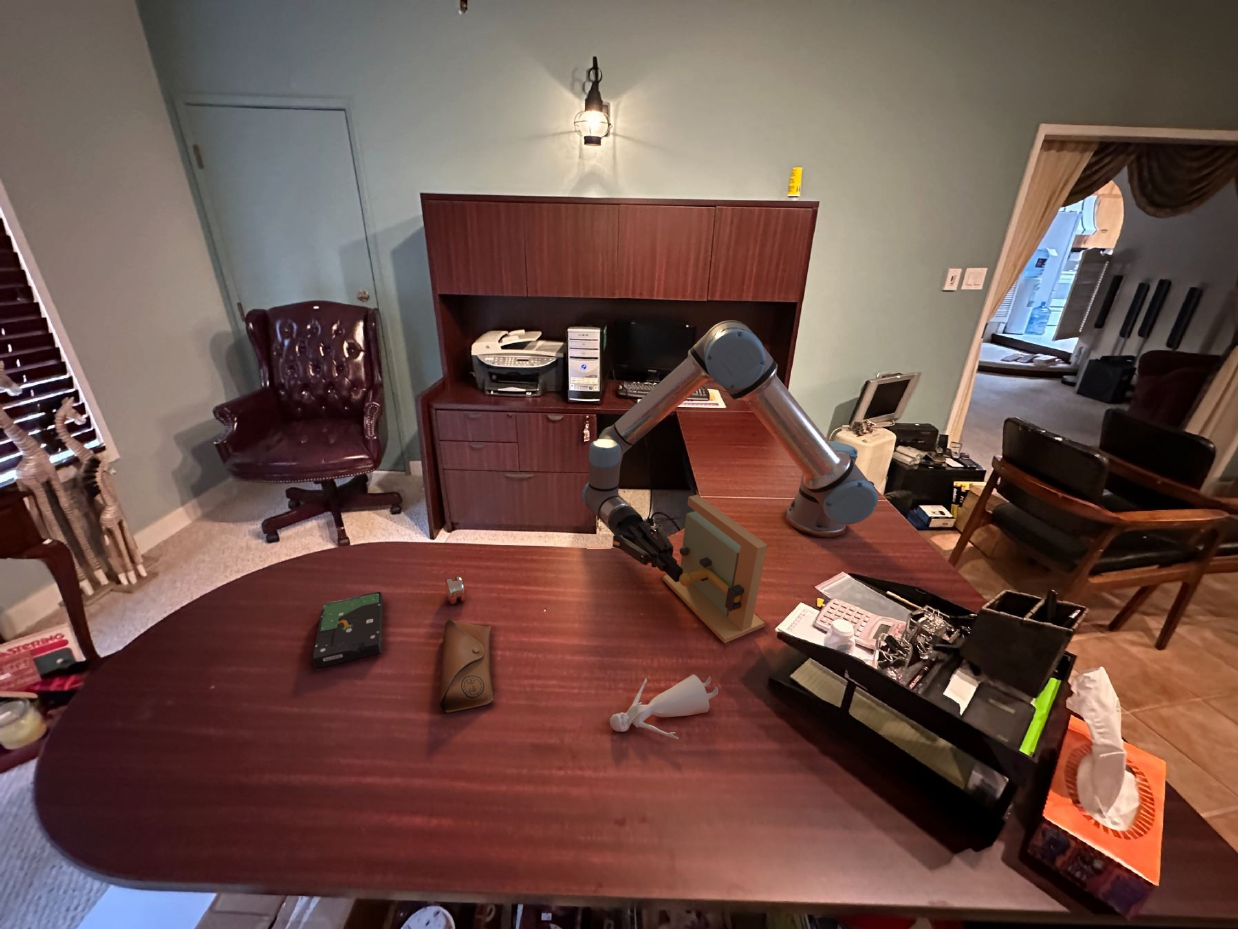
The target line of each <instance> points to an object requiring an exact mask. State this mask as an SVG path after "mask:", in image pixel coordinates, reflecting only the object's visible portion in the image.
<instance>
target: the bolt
mask: <svg viewBox="0 0 1238 929" xmlns="http://www.w3.org/2000/svg"><path fill="white" fill-rule="evenodd" d="M706 577H707V578H708V579H709V580H710V581H711V582H713V583H714V584H715V585H716V586H717V587H718V588H719V589H720V590H721V591H722V592H723V593H725V594H726V595H727V591H728V588H729V586H728V585H727V584H726V583H725V582H724V581H723V580H721V579H720V578H719V577H718V576H717V575H716V574H715V573H713V572H712V571H711V570H710V569H709V568H708V567H705V568H704V567H703V568H702V569H701V570H698V571H695V572H692V573H683V574H681V575H680V577H679V582H680V584H681V585H683V586H689V585H691V583H692V582H695V581H698V580H701V579H704V578H706ZM740 598H741V597H740V595H737V596H735V597H734V602H735V603H737V602H739V600H740Z"/></svg>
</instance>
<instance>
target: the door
mask: <svg viewBox="0 0 1238 929" xmlns="http://www.w3.org/2000/svg"><path fill="white" fill-rule="evenodd" d="M687 506H688V507H689V508H690V509H692V510H693V511H691V512H688V513H687V512H686V513H685V514H686V515H685V522H684V530H683V539H682V540H683V541H682V546H681V547H680V548H679V554H680V555H681V557H680V565H679V566H680V567H681V568H682V569H683V573H692V572H695V571H698V570H701V569H702V568H703V567H704V568H705V567H708V568H709V569H710V570H711V571H712V572H713V573H715V574H716V575H717V576H718V577H719V578H720V579H721V580H723V581H724V582H725V583H726V584H727V585H728V586H729V588H728V591H727V595H726V594H725V593H723V592H722V591H721V590H720V589H719V588H718V587H717V586H716V585H715V584H714V583H713V582H711V581H710V580H709V579H708V578H707V577H706V578H704V579H701V580H698V581H695V582H692V583H691V585H689V586H683V585H681V584H680V582H675V581H674V580H673V579H672V578H671V577H670V576H669V575H668V574H665V575H663V576H662V581H663V582H664V583H665V584H666V585H667V586H668V588H670V589H671V590H672V591H673V592H674V593H675V594H676V596H678V597H679V599H681V601H682V602H684V604H685V605H686V606H687V607H688V608H689V609H690V610H691V611H692V612H693V613H694V614H695V615H696V616H697V617H698V618H699V619H700V620H701V621H702V622H703V623H704V624H705V625H706V626H707V627H708V628H709V629H710V630H711V631H712V633H713V634H715V636H716V637H717V638H718V639H719V640H720V641H721V642H722V643H723V644H726V643H729V642H731V641H734V640H736V639H739V638H741V637H743V636H746V635H747V634H750V633H752V632H755V631H758V630H760V629H762V628H764V627H765V622H764V621H763V620H762V619H761V618H759V616H758V615H756V614H755V610H756V604H757V600H758V595H759V590H760V586H761V581H762V580H761V579H762V575H763V570H764V564H765V559H766V556H767V549H768V544H767V543H766V542H764V540H761V539H760V538H759V537H758V536H757V535H755V534H753V533H752V532H751V531H749V530H748V529H746V528H745V527H744V526H742V525H741V524H739V523H738V522H736V521H735V520H734V519H732V518H731V517H730V516H728V515H727V514H726V513H724V512H722V511H721V510H720V509H718V508H717V507H716V506H714V505H713V504H712V503H710V502H708V501H707V500H706V499H704V498H703V497H701V496H700V495H698V494H694V495H689V496H688V497H687ZM737 595H740V597H741V598H740V600H739V602H737V603H735V602H734V597H735V596H737Z"/></svg>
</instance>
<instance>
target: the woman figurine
mask: <svg viewBox="0 0 1238 929" xmlns="http://www.w3.org/2000/svg"><path fill="white" fill-rule="evenodd" d="M642 682H643V683H642V685H641V686H640V688H639V691H638V692H637V693H636V696H635V698H634V700H633V702H632V704H631V705H630V706H629V708H628V710H627V711H626V712H618V713H617V712H616V713H614V714H612V716H610V718H609V725H610V727H611V728H612V729H613V730H614V731H615V732H626V731H628V730H629V728H630V727H631V725H633V726H635V728H637V729H638V728H642V729H646V730H650V731H651V732H654V733H657V734H661V735H663V736H666V737H668V738H671V739H672V740H679V736H676V735H674V734H676V732H674V731H673V732H672V731H671V732H666V731H664V730H661V729H659V728H658V727H656V726H654V725H652V724H649V723H646V722H645V721H646V720H647V719H648V718H649V717H651V716H655V717H658V718H672V717H683V716H691V715H699V714H704V713H708V712H709V710H710V708H711V707H710V700H711V699H713V698H714V697H716V696H718V695H719V688H718V686H715V687H714V689H713V690H712V691H711V692H709V693H708V692H707V689H706V687H707V686H709V685H711V682H712V678H711V676H708V677H707V679H706V681H704V682H702V680H701V679H700V678H699V677H698V675H697V674H694V673H693V674H691V675H690V676H689V675H688V677H686V678H684V679H682V680H681V681H680V682H678V683H676V684H675V685H673V686H671V687H670V688H668V689H666V690H664V691H663V692H661V693H659V694H657V695H655V697H652V699H651V700H650V701H649V702H648V704H642V703H643V702H639V701H640V699H641V696H642V693H643V690H644V688H645V686H646V685H647V683H648V679H647V677H645V679H644V680H643V681H642Z"/></svg>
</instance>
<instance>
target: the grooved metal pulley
mask: <svg viewBox="0 0 1238 929" xmlns="http://www.w3.org/2000/svg"><path fill="white" fill-rule="evenodd" d="M454 579H455V580H453V579H452V578H451V577H450V578H446V579H445V589H446V595H447V598H448V601H449V604H450V605H454V604H456V603H457V600H458V599H459V602H464V601H465V600H466V598H467V593H466V586H465V583H464V580H463V577H462V576H459V575H457V576H455V578H454Z"/></svg>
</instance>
